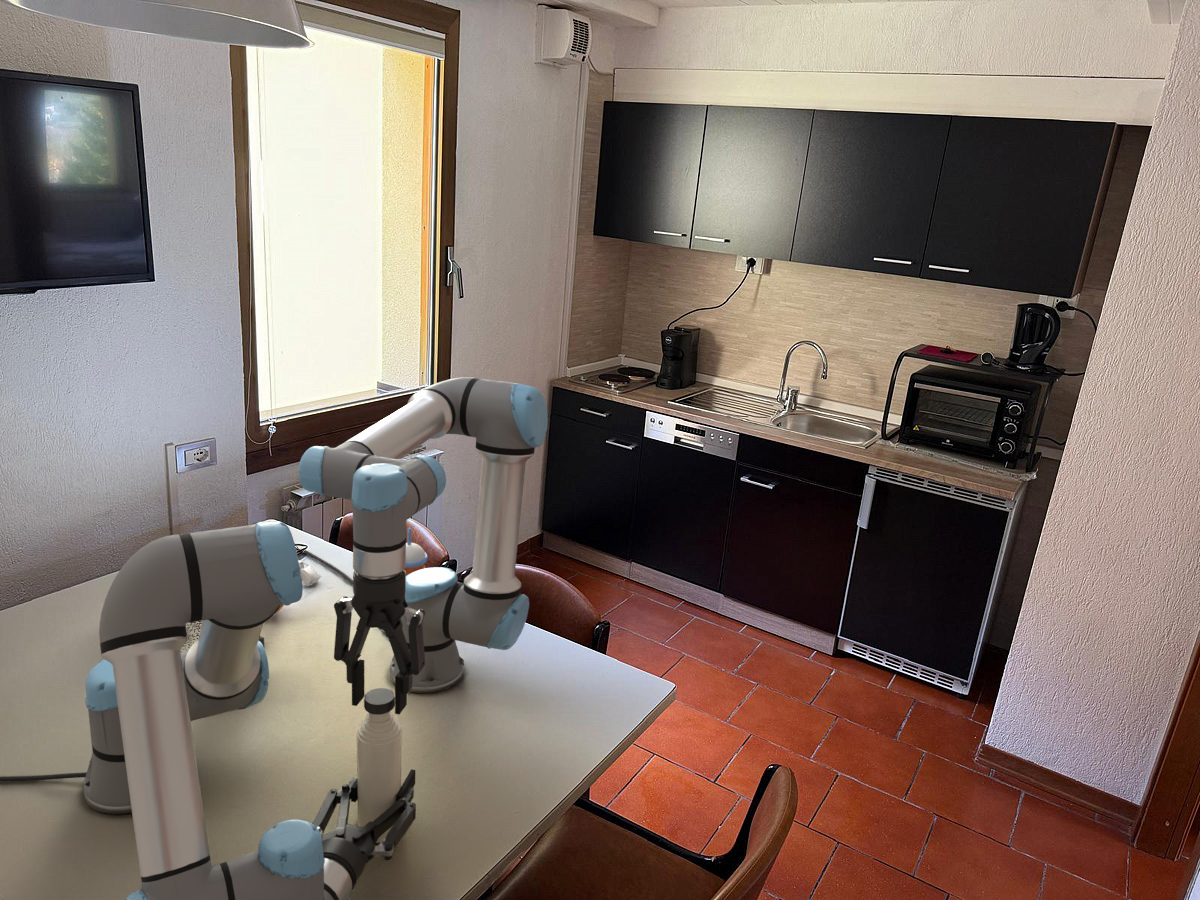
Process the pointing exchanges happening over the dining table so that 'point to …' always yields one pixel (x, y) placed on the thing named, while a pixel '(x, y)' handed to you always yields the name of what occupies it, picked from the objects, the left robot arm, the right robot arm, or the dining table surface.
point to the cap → (379, 701)
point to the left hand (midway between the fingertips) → (391, 772)
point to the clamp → (308, 574)
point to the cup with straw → (414, 556)
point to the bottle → (378, 766)
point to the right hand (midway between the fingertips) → (379, 704)
